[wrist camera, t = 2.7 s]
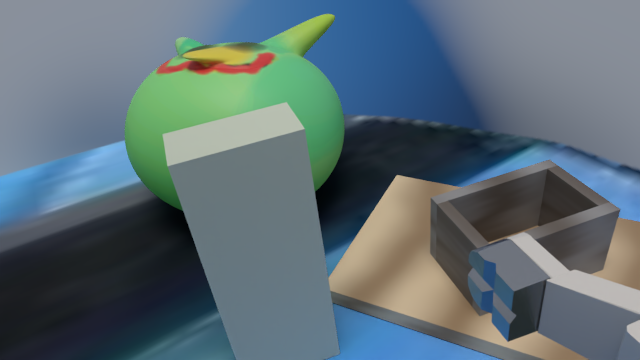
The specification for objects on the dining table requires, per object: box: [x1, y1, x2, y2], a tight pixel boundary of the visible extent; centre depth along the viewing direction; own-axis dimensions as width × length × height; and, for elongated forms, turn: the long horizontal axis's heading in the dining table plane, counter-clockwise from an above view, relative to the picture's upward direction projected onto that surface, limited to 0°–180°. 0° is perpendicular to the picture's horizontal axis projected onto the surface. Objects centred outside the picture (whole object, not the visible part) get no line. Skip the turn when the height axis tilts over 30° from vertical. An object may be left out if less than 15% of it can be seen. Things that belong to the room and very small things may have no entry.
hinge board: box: [328, 160, 640, 360], centre depth 33 cm, size 20×14×6 cm
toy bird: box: [125, 14, 344, 211], centre depth 42 cm, size 18×17×15 cm
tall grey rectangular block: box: [162, 102, 340, 360], centre depth 28 cm, size 6×4×16 cm
